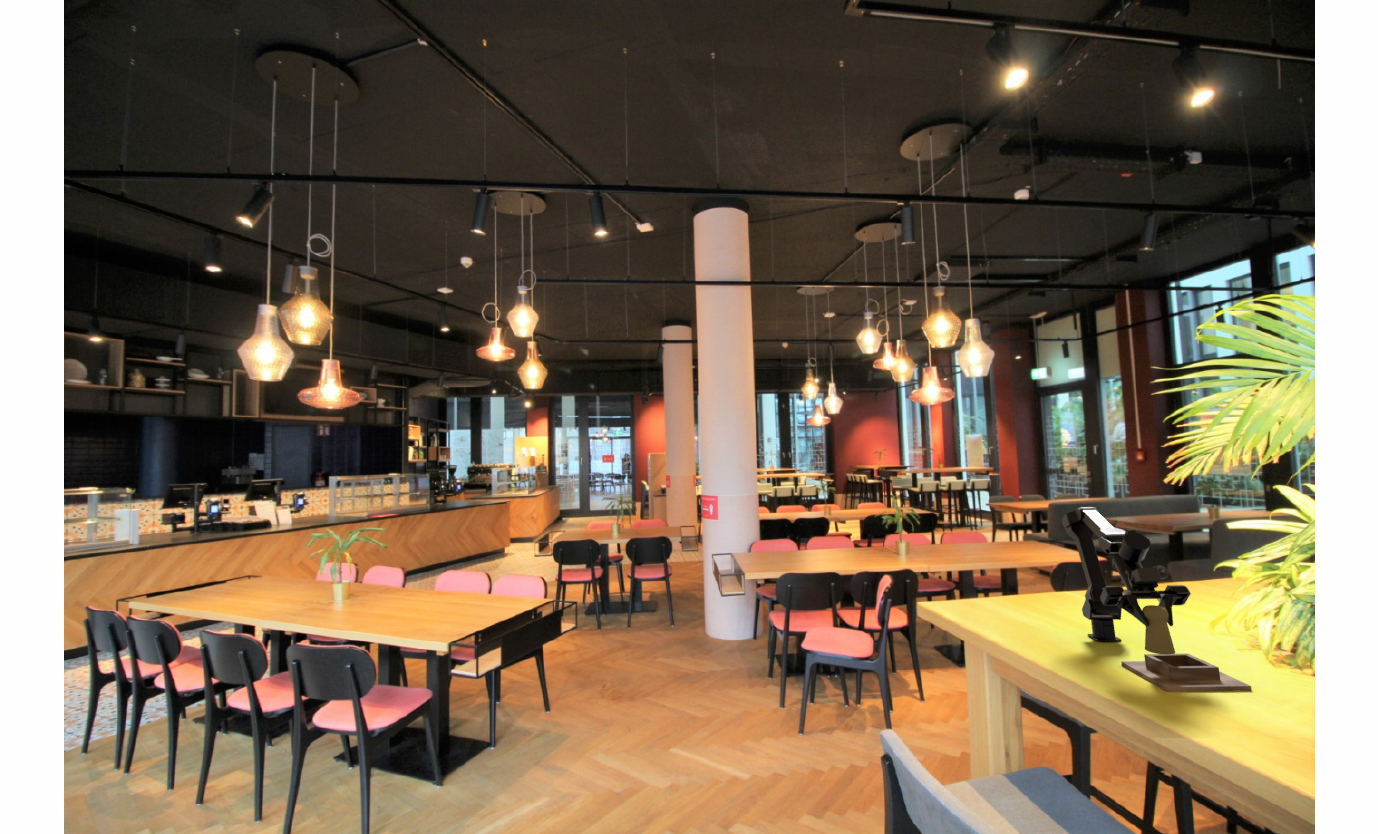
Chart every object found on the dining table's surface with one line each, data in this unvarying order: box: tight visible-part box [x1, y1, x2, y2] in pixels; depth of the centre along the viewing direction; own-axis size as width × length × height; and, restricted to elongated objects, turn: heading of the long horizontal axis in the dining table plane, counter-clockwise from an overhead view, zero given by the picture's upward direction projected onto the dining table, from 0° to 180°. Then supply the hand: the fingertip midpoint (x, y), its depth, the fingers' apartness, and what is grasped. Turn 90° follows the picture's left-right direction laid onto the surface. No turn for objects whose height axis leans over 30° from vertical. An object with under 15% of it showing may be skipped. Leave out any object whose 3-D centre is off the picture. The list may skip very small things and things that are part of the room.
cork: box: [1141, 604, 1176, 655], centre depth 146 cm, size 6×6×11 cm
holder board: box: [1120, 653, 1253, 692], centre depth 145 cm, size 18×18×4 cm
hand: (1159, 625), depth 145 cm, fingers closed on cork, 5 cm apart
